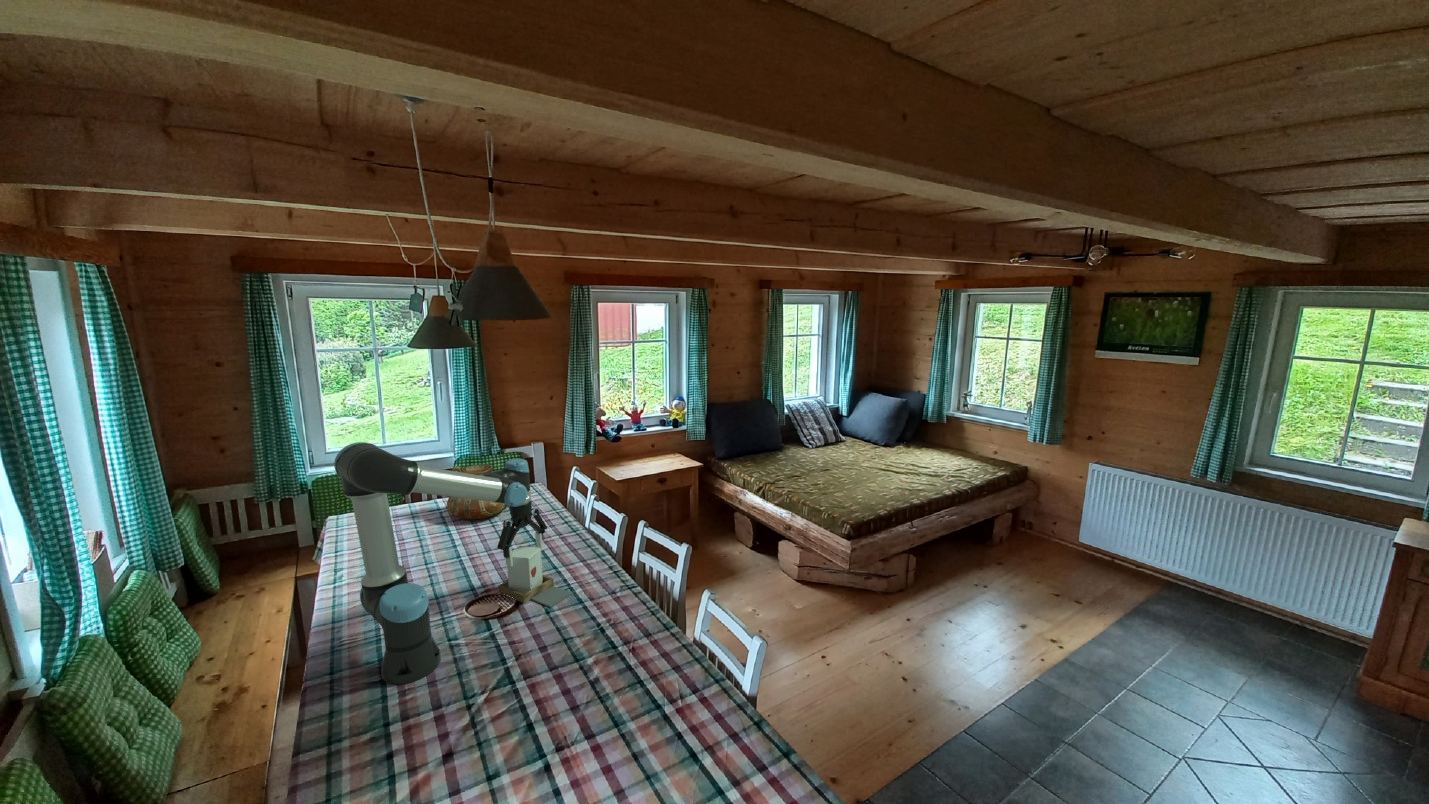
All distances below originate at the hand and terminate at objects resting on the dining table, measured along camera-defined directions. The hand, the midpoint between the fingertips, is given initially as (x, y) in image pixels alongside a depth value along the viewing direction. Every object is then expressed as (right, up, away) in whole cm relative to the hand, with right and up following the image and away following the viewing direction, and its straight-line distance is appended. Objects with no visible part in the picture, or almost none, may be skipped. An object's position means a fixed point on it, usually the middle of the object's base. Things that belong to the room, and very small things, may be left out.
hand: (525, 557), depth 196 cm
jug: (-47, +1, +73) cm, 87 cm away
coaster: (+11, -13, -3) cm, 17 cm away
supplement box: (0, -13, +2) cm, 13 cm away
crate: (0, -12, +2) cm, 13 cm away
